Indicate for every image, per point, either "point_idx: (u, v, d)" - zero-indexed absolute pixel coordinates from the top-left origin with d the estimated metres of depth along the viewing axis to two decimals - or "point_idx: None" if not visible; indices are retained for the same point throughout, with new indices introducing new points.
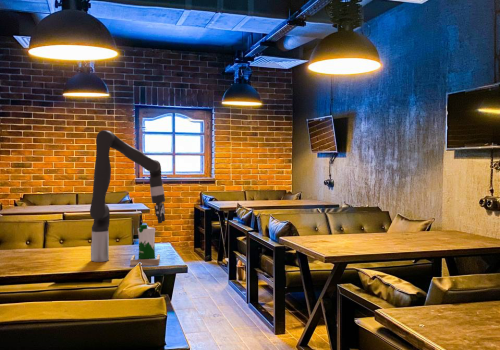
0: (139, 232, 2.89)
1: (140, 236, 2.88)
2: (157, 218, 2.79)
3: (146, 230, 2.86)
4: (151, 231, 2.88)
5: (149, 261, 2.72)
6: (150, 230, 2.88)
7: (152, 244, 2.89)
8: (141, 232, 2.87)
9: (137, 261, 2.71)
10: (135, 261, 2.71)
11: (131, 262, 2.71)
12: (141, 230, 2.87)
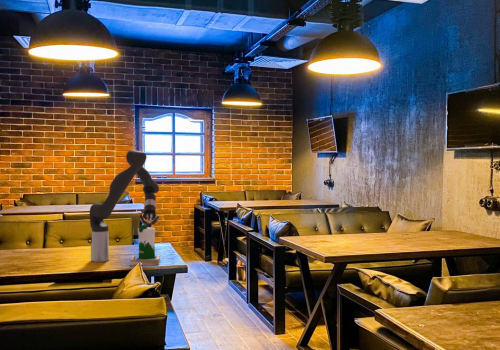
0: (139, 232, 2.89)
1: (140, 236, 2.88)
2: (150, 224, 3.10)
3: (146, 230, 2.86)
4: (151, 231, 2.88)
5: (149, 261, 2.72)
6: (150, 230, 2.88)
7: (152, 244, 2.89)
8: (141, 232, 2.87)
9: (137, 261, 2.71)
10: (135, 261, 2.71)
11: (131, 262, 2.71)
12: (141, 230, 2.87)
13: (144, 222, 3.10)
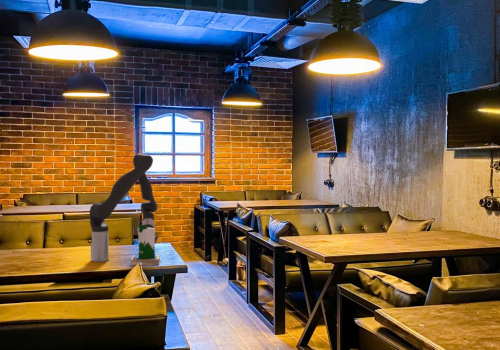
0: (139, 232, 2.88)
1: (140, 236, 2.87)
2: None
3: (146, 230, 2.85)
4: (151, 231, 2.88)
5: (149, 261, 2.72)
6: (150, 230, 2.87)
7: (152, 244, 2.88)
8: (141, 232, 2.86)
9: (137, 261, 2.71)
10: (135, 261, 2.71)
11: (131, 262, 2.71)
12: (141, 230, 2.87)
13: None
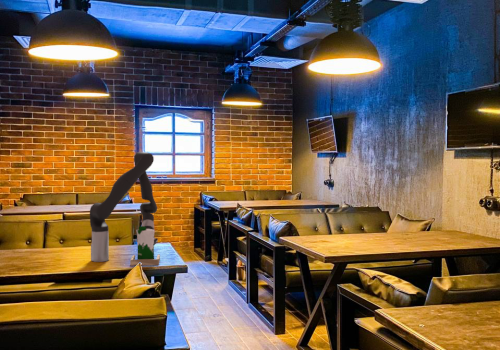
0: (138, 234, 2.82)
1: (138, 238, 2.81)
2: None
3: (144, 232, 2.79)
4: (150, 233, 2.81)
5: (149, 261, 2.72)
6: (149, 232, 2.81)
7: (151, 246, 2.81)
8: (139, 233, 2.80)
9: (137, 261, 2.71)
10: (135, 261, 2.71)
11: (131, 262, 2.71)
12: (139, 232, 2.80)
13: None
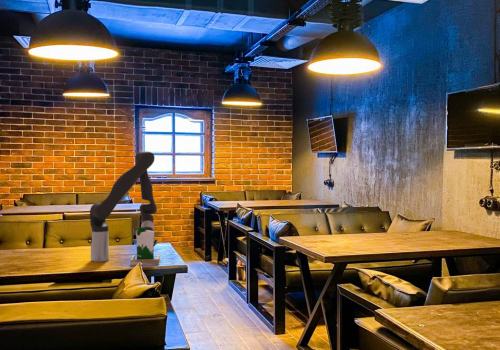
0: (137, 235, 2.77)
1: (138, 239, 2.76)
2: None
3: (144, 233, 2.74)
4: (149, 234, 2.76)
5: (149, 261, 2.72)
6: (148, 233, 2.76)
7: (150, 248, 2.76)
8: (139, 235, 2.75)
9: (137, 261, 2.71)
10: (135, 261, 2.71)
11: (131, 262, 2.71)
12: (139, 233, 2.75)
13: None
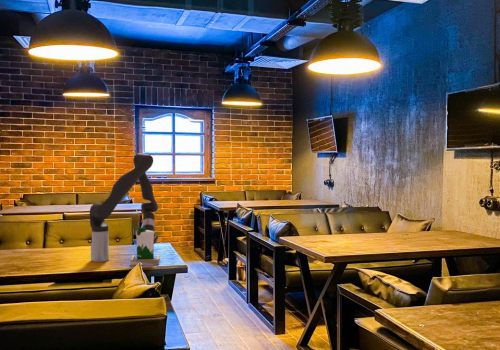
0: (137, 235, 2.77)
1: (138, 239, 2.76)
2: None
3: (144, 233, 2.74)
4: (149, 234, 2.76)
5: (149, 261, 2.72)
6: (148, 233, 2.75)
7: (150, 248, 2.76)
8: (139, 235, 2.75)
9: (137, 261, 2.71)
10: (135, 261, 2.71)
11: (131, 262, 2.71)
12: (139, 233, 2.75)
13: None
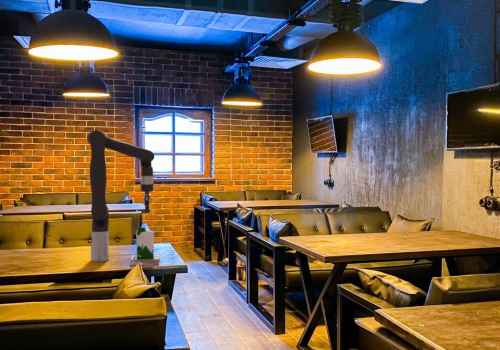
0: (137, 235, 2.77)
1: (138, 239, 2.76)
2: (145, 207, 2.96)
3: (144, 233, 2.74)
4: (149, 234, 2.76)
5: (149, 261, 2.72)
6: (148, 233, 2.75)
7: (150, 248, 2.76)
8: (139, 235, 2.75)
9: (137, 261, 2.71)
10: (135, 261, 2.71)
11: (131, 262, 2.71)
12: (139, 233, 2.75)
13: None
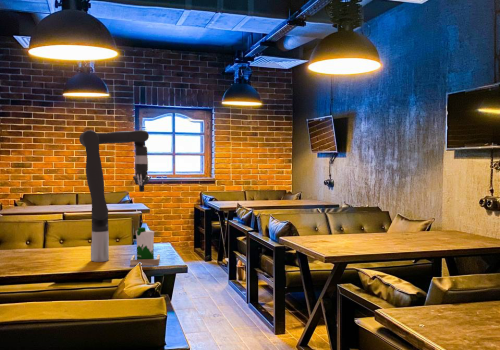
0: (137, 235, 2.77)
1: (138, 239, 2.76)
2: (141, 187, 2.98)
3: (144, 233, 2.74)
4: (149, 234, 2.76)
5: (149, 261, 2.72)
6: (148, 233, 2.75)
7: (150, 248, 2.76)
8: (139, 235, 2.75)
9: (137, 261, 2.71)
10: (135, 261, 2.71)
11: (131, 262, 2.71)
12: (139, 233, 2.75)
13: None
